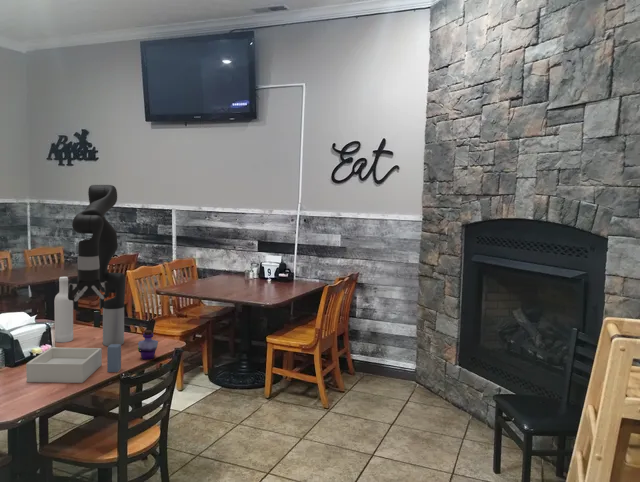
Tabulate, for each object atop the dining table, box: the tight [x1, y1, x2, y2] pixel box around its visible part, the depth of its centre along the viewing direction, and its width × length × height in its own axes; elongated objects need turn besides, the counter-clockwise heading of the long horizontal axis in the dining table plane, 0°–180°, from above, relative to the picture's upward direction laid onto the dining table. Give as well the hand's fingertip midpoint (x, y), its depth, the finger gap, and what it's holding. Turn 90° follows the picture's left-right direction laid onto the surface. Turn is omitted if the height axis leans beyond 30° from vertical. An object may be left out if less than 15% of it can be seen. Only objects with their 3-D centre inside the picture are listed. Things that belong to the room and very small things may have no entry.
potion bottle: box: [137, 329, 159, 361], centre depth 223 cm, size 9×9×12 cm
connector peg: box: [106, 344, 122, 373], centre depth 207 cm, size 4×4×10 cm
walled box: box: [25, 347, 103, 384], centre depth 202 cm, size 20×20×7 cm
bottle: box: [53, 276, 74, 343], centre depth 243 cm, size 8×8×30 cm
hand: (88, 309), depth 199 cm, fingers open, 8 cm apart
